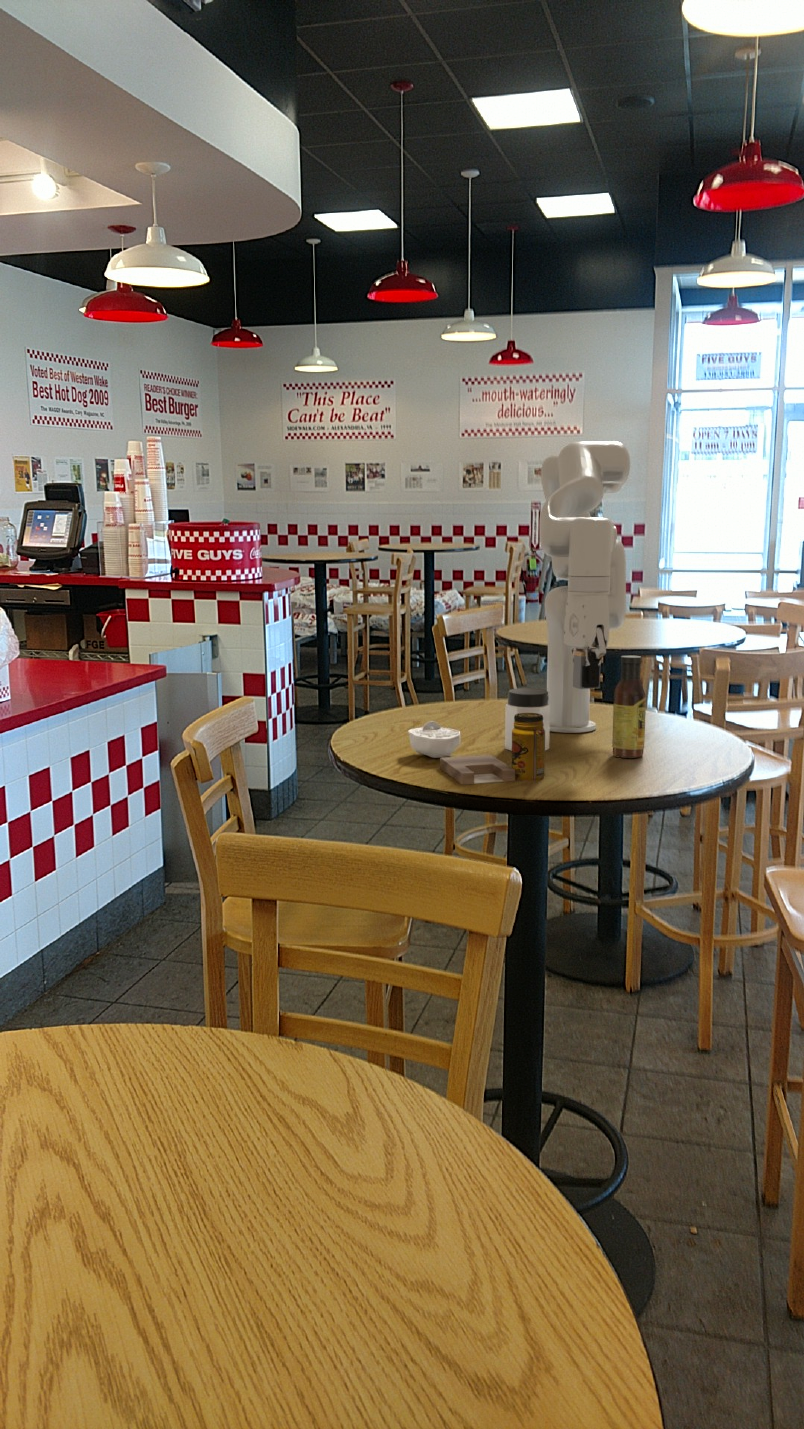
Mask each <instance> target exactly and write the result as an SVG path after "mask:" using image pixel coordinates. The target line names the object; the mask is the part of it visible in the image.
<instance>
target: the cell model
mask: <svg viewBox="0 0 804 1429" xmlns="http://www.w3.org/2000/svg"><path fill="white" fill-rule="evenodd" d="M407 733H408V735H409V743H410V747H411V748H412V750H414V751H415V752H416V753H418V754H421V755H424V756H428V757H430V758H433V759H436V758H437V759H440V758H445V757H450V756H451V755H453V753H454V752H455V750H456V749H457V748H458V747H459V746H460V745H461V740H462V739H461V731H460V730H457V729H453V728H450V727H443V726H440V724H439V723H437V721H434V720H430V721H427V722H426V723H424V725H423V726H421V727H416V728H411V729H408V731H407Z"/></svg>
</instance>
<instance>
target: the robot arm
mask: <svg viewBox="0 0 804 1429" xmlns="http://www.w3.org/2000/svg"><path fill="white" fill-rule="evenodd" d="M540 470H541V471H540V472H541V473H540V474H541V476H540V478H541V485H542V492H543V495H544V498H545V501H544V503H543V505H542V507H541V510H540V514H539V542H540V547H541V550H542V551H543V553H544V554H545V555H546V556H548V557H551V566H552V572H553V575H554V576H555V577H556V578H557V579H560V580H563V581H567V583H568V584H567V585H565V586H564V585H563V586H558V587H555V588H552V589H551V590H550V591H549V592H548V593H547V594H546V596H545V600H544V613H545V614H544V615H545V619H546V621H545V622H546V630H547V662H546V663H547V669H546V691H548V696H549V699H548V704H550V729H549V732H554V733H565V734H569V733H570V734H575V733H576V734H578V733H588V732H592V731H594V730H596V729H597V728H596V727H597V723H596V722H595V721H592V720H591V719H590V707H591V705H590V700H591V689H578V688H575V687H573V669H574V650H584V658H585V666H582V687H584V688H593V687H599V671H600V672H601V667H600V665H601V664H602V658H603V657H604V656H605V655H606V654H607V647H608V645H609V640H610V638H609V637H610V630H611V631H612V630H617V629H620V628H621V627H622V626H623V625H624V623H625V620H626V611H627V610H626V609H627V593H626V592H627V586H626V585H627V584H626V583H627V580H626V579H627V578H626V577H627V576H626V575H627V574H626V573H627V563H626V551H625V550H626V549H625V547H624V544H623V542H622V541H621V540H619V539H618V530H617V526H616V525H615V524H614V523H613V521H612V520H611V519H610V518H607V517H602V516H601V517H600V516H599V517H597V516H596V517H595V516H593V517H592V516H591V513H590V512H592V511H594V510H595V509H596V508H598V506H599V505H600V504H601V502H602V500H603V499H604V494H615V493H617V492H619V491H620V490H621V489H622V487H623V486H624V485H625V483H627V480H628V478H629V476H630V470H631V457H630V454H629V450H628V449H627V447H626V445H625V444H624V443H622V442H621V441H620V442H619V441H615V440H613V441H611V440H610V441H607V440H606V441H605V440H604V441H602V440H601V441H586V440H585V441H575V442H574V441H573V442H570V443H567V445H565V446H564V447H563V448H562V449H561V451H560V452H559V453H557V454H553V455H550V456H547V458H545V459H544V460H543V462H542V463H541V469H540ZM591 647H592V648H591ZM590 652H592V654H591V655H590Z"/></svg>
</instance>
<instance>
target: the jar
mask: <svg viewBox="0 0 804 1429" xmlns="http://www.w3.org/2000/svg"><path fill="white" fill-rule="evenodd" d="M548 699H549V696H548V691H547V689H546V690H545V689H541V688H531V687H529V688H528V687H527V688H526V687H525V688H523V687H522V688H512V689H509V690H508V691H507V703H505V715H504V716H505V717H504V718H505V719H504V721H505V722H504V723H505V724H504V749H505V750H507V751H510V752H512V730H513V728H514V716H515V715H516V714H518V713H538V714H541V715H542V716H543V724H544V726H543V728H544V730H545V752H546V751H548V750H550V731H549V729H550V704H548Z"/></svg>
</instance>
